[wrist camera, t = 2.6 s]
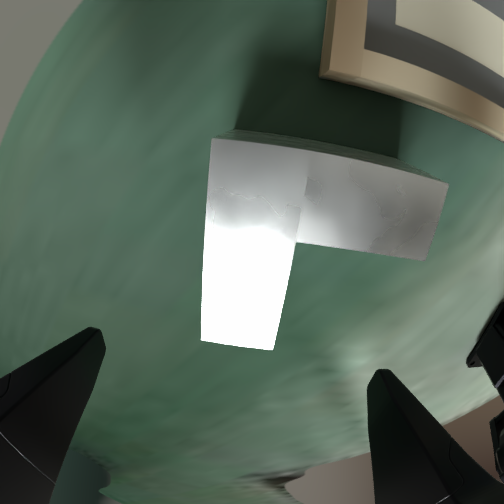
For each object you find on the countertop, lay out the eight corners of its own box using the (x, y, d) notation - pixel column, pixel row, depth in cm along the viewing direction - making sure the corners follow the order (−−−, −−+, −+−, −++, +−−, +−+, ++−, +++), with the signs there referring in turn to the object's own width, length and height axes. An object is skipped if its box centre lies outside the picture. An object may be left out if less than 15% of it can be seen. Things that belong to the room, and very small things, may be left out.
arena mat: (516, -22, 5) (521, -23, 5) (517, 150, 11) (524, 152, 11) (334, -107, 5) (335, -112, 5) (318, 77, 11) (320, 76, 11)
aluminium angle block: (233, 129, 13) (211, 137, 8) (397, 158, 13) (448, 184, 8) (220, 278, 17) (201, 339, 12) (359, 295, 16) (380, 357, 12)
